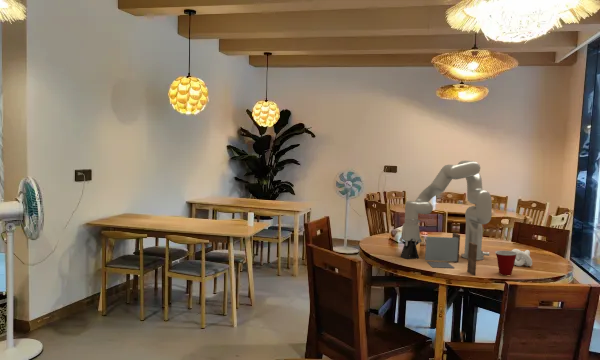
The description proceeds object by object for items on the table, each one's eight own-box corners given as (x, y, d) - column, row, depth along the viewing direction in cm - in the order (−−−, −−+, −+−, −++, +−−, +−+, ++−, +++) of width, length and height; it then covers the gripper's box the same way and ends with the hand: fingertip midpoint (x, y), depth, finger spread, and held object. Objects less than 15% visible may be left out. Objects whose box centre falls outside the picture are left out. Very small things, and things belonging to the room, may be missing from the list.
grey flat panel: (457, 261, 254) (458, 238, 253) (425, 260, 254) (426, 236, 253) (455, 260, 256) (457, 237, 255) (424, 259, 256) (425, 236, 255)
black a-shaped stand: (406, 259, 259) (407, 239, 258) (400, 256, 264) (401, 237, 263) (418, 258, 262) (419, 238, 261) (412, 256, 268) (413, 236, 267)
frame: (454, 259, 263) (455, 232, 262) (475, 275, 228) (477, 244, 227) (450, 259, 263) (452, 232, 262) (471, 275, 228) (473, 244, 227)
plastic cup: (493, 270, 240) (494, 248, 239) (515, 273, 236) (516, 250, 235) (494, 275, 230) (495, 252, 229) (517, 278, 226) (518, 255, 225)
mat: (447, 263, 253) (447, 262, 253) (454, 268, 241) (454, 267, 241) (426, 262, 253) (426, 261, 253) (432, 267, 241) (432, 266, 241)
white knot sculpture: (512, 261, 262) (513, 246, 262) (535, 265, 255) (536, 250, 254) (507, 265, 254) (508, 249, 253) (530, 269, 246) (531, 253, 245)
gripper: (423, 221, 265) (422, 251, 266) (396, 220, 266) (395, 250, 267) (426, 223, 258) (425, 254, 259) (398, 222, 258) (397, 253, 259)
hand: (410, 252), depth 263 cm, fingers open, 3 cm apart
